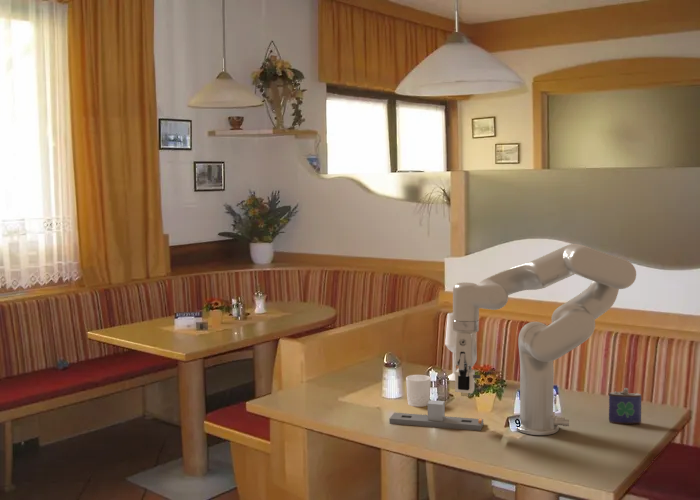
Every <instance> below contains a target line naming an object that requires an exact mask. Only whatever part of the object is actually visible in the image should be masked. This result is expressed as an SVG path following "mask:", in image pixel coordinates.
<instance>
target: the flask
mask: <svg viewBox="0 0 700 500" xmlns="http://www.w3.org/2000/svg"><path fill="white" fill-rule="evenodd" d="M608 398H609V399H608V403H609V405H608V406H609V407H608V421H609V424H616V425H637V426H638V425H641V423H642V394H641V393H637V392H635V393H629V388H627V387H624V388H623V390H622V391H616V390H615V391H612V392H609V394H608Z"/></svg>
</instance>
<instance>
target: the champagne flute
mask: <svg viewBox="0 0 700 500" xmlns="http://www.w3.org/2000/svg"><path fill="white" fill-rule="evenodd" d="M446 315H447V316H446V326H445V327H446V328H445V340H444V345H445V347H446V348H447V349H448V350H449V351H450V352H451V353H452V373H450V374H449V375H447V376H448V378H449V380H448V381H452V382H453V381H454V382H455V371H456V370H457V365H456V332H455V331H453V312H448V313H447V314H446Z"/></svg>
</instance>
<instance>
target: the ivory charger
mask: <svg viewBox="0 0 700 500" xmlns="http://www.w3.org/2000/svg"><path fill="white" fill-rule="evenodd" d="M458 373H459V368H456V371H455V381H454V392H455V393H460V397H466V398H467V397H469V394H473V393H474V392H475V379H481V378H482V375H480V374H475V373H476V372H475V369H469V374H468V376H469V390H459V389H458Z"/></svg>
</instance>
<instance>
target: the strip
mask: <svg viewBox="0 0 700 500" xmlns="http://www.w3.org/2000/svg"><path fill="white" fill-rule="evenodd" d="M389 424H391V425H401V426H402V425H403V426H404V425H405V426H414V427H415V426H418V427H428V428H429V427H430V428H440V429H451V430H452V429H453V430H468V431H477V432H478V431H482V428H483V426H484V419H483V418H473V417H472V418H471V417H460V416H459V417H457V416H448V415H447V416H446V415H445V418H444V420H443V421H432V420H428V414H420V413H419V414H418V413H407V412H405V413H404V412H393V413H392V415H391V416H390V417H389Z"/></svg>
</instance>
